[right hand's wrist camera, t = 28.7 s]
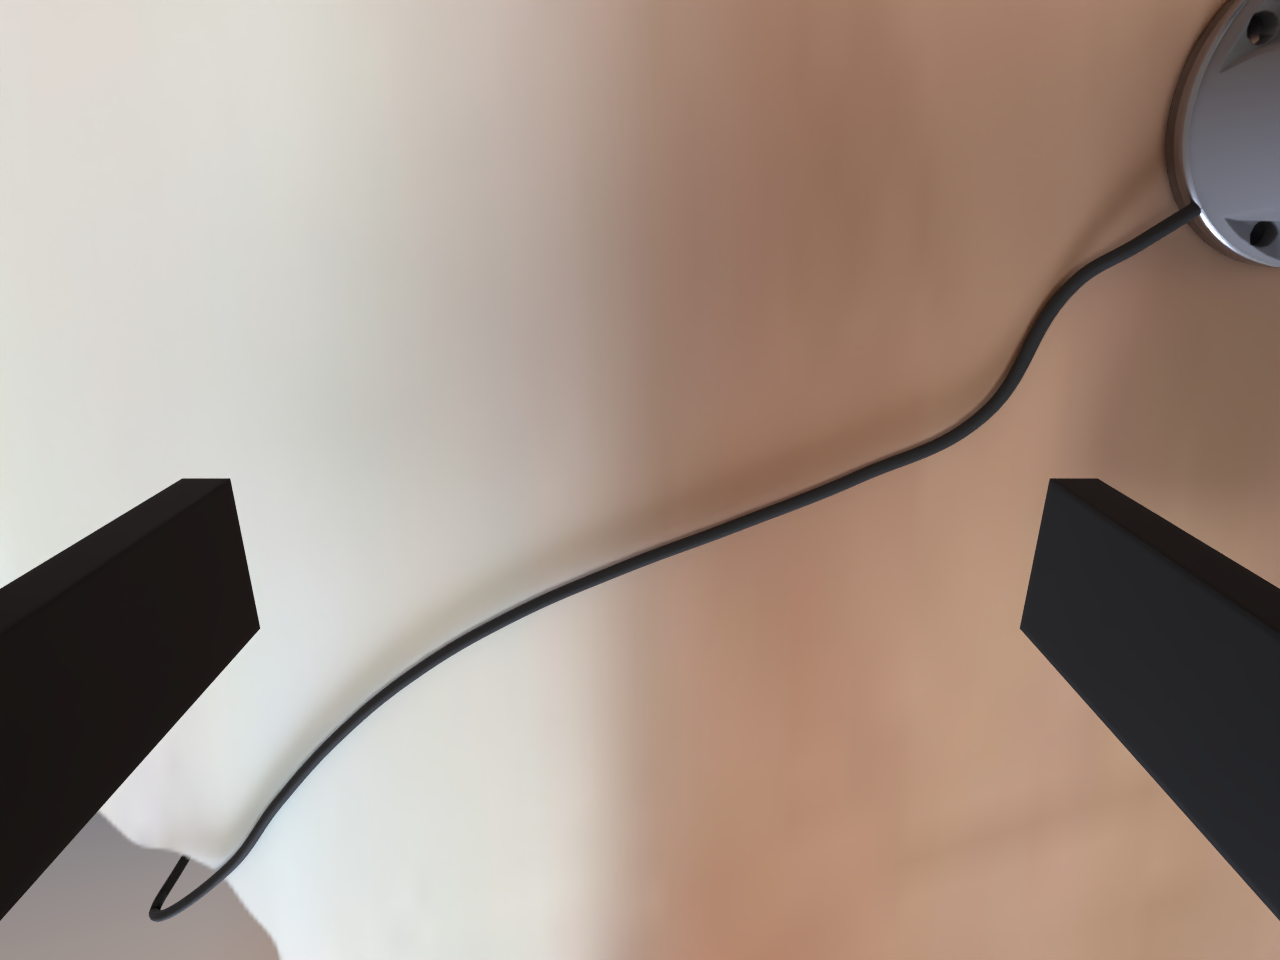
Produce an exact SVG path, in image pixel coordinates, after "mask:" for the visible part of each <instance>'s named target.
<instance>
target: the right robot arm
mask: <svg viewBox="0 0 1280 960" xmlns="http://www.w3.org/2000/svg"><path fill="white" fill-rule="evenodd" d="M1166 162H1167V172H1168V177H1169V182H1170V186H1171V189H1172V192H1173V195H1174V199H1175V201H1176V203H1177V205H1178V207H1179V211H1178V212H1176V213H1174V214H1173V215H1171V216H1170V217H1168V218H1166V219H1165V220H1163V221H1162V222H1160V223H1158V224H1157V225H1155V226H1154V227H1152V228H1150V229H1149V230H1147V231H1146V232H1144V233H1142V234H1141V235H1139V236H1137V237H1136V238H1134V239H1133V240H1131V241H1129V242H1127V243H1126V244H1124V245H1122V246H1120V247H1118V248H1116V249H1114V250H1112V251H1110V252H1108V253H1106V254H1105V255H1103V256H1101V257H1099V258H1097V259H1095V260H1094V261H1092V262H1090V263H1089V264H1087V265H1086V266H1084V267H1083V268H1081V269H1080V270H1079V271H1078V272H1076V273H1075V274H1074V275H1073V276H1072V277H1071V278H1069V280H1068V281H1067V282H1066V283H1065V284H1064V285H1063V286H1062V287H1061V288H1060V289H1059V290H1058V291H1057V292H1056V293H1055V295H1054V296H1053V297H1052V298H1051V300H1050V301H1049V302H1048V303H1047V305H1046V306H1045V308H1044V309H1043V311H1042V312H1041V314H1040V315H1039V317H1038V319H1037V320H1036V322H1035V324H1034V325H1033V327H1032V329H1031V331H1030V333H1029V335H1028V337H1027V339H1026V341H1025V343H1024V345H1023V347H1022V349H1021V351H1020V353H1019V355H1018V357H1017V359H1016V361H1015V363H1014V365H1013V366H1012V368H1011V370H1010V372H1009V374H1008V375H1007V377H1006V379H1005V380H1004V382H1003V383H1002V385H1001V386H1000V388H999V389H998V390H997V392H996V393H995V394H994V395H993V396H992V398H991V399H990V400H989V401H988V402H987V403H986V404H985V405H984V406H983V407H982V408H981V409H980V410H979V411H978V412H976V413H975V414H974V415H973V416H971V417H970V418H969V419H968V420H966V421H965V422H963V423H962V424H961V425H959V426H958V427H956V428H955V429H953V430H951V431H950V432H948V433H946V434H944V435H943V436H941V437H939V438H937V439H935V440H933V441H931V442H928V443H926V444H924V445H921V446H919V447H916V448H914V449H911V450H909V451H906V452H903V453H901V454H898V455H895V456H893V457H890V458H887V459H885V460H882V461H880V462H877V463H875V464H872V465H869V466H867V467H865V468H862V469H860V470H858V471H856V472H853V473H851V474H849V475H846V476H844V477H842V478H839V479H837V480H835V481H832V482H830V483H828V484H825V485H823V486H820V487H818V488H815V489H813V490H810V491H808V492H805V493H803V494H800V495H798V496H795V497H792V498H790V499H787V500H785V501H782V502H779V503H777V504H774V505H771V506H769V507H766V508H764V509H761V510H758V511H756V512H753V513H750V514H748V515H745V516H743V517H740V518H737V519H735V520H732V521H730V522H727V523H724V524H722V525H719V526H716V527H714V528H711V529H708V530H706V531H703V532H700V533H698V534H695V535H692V536H689V537H687V538H684V539H681V540H678V541H676V542H673V543H670V544H667V545H665V546H662V547H659V548H657V549H654V550H651V551H649V552H646V553H643V554H641V555H638V556H636V557H633V558H631V559H628V560H626V561H623V562H621V563H618V564H616V565H613V566H611V567H608V568H606V569H603V570H601V571H598V572H596V573H593V574H591V575H589V576H586V577H584V578H581V579H579V580H576V581H574V582H571V583H569V584H567V585H564V586H562V587H560V588H557V589H555V590H553V591H550V592H548V593H546V594H544V595H542V596H539V597H537V598H535V599H533V600H531V601H529V602H527V603H525V604H523V605H520V606H518V607H516V608H514V609H512V610H510V611H508V612H506V613H505V614H503V615H501V616H499V617H497V618H495V619H493V620H491V621H489V622H487V623H485V624H483V625H481V626H480V627H478V628H476V629H474V630H472V631H470V632H469V633H467V634H465V635H463V636H462V637H460V638H458V639H456V640H455V641H453V642H451V643H450V644H448V645H446V646H445V647H443V648H442V649H440V650H438V651H437V652H435V653H434V654H432V655H431V656H429V657H428V658H426V659H425V660H423V661H422V662H420V663H419V664H417V665H416V666H414V667H413V668H412V669H410V670H409V671H407V672H406V673H404V674H403V675H402V676H400V677H399V678H398V679H396V680H395V681H394V682H392V683H391V684H389V685H388V686H387V687H386V688H384V689H383V690H382V691H380V692H379V693H378V694H377V695H375V696H374V697H373V698H372V699H371V700H369V701H368V702H367V703H366V704H365V705H364V706H362V707H361V708H360V709H359V710H358V711H357V712H356V713H355V714H353V715H352V716H351V717H350V718H349V719H348V720H347V721H346V722H345V723H344V724H343V725H342V726H341V727H339V728H338V729H337V730H336V731H335V732H334V733H333V734H332V735H331V736H330V737H329V738H328V739H327V740H326V741H325V742H324V743H323V744H322V745H321V746H320V747H319V748H318V749H317V750H316V751H315V752H314V753H313V754H312V756H311V757H310V758H309V759H308V760H307V761H306V762H305V763H304V764H303V766H302V767H301V768H300V769H299V770H298V771H297V772H296V774H295V775H294V776H293V777H292V778H291V780H290V781H289V782H288V783H287V784H286V786H285V787H284V788H283V789H282V790H281V792H280V793H279V794H278V795H277V796H276V798H275V799H274V800H273V801H272V803H271V804H270V805H269V807H268V808H267V809H266V811H265V812H264V813H263V815H262V816H261V818H260V819H259V821H258V822H257V824H256V825H255V827H254V828H253V830H252V832H251V833H250V835H249V836H248V838H247V839H246V841H245V842H244V844H243V845H242V846H241V847H240V849H239V850H238V851H237V852H236V854H235V855H234V856H233V857H232V858H231V859H230V860H229V861H228V862H227V863H226V864H225V865H224V866H223V867H222V868H220V869H219V870H218V871H217V872H216V873H215V874H214V875H212V876H211V877H210V878H209V879H208V880H207V881H205V882H204V883H203V884H202V885H200V886H199V887H198V888H197V889H195V890H194V891H193V892H191V893H190V894H189V895H187V896H186V897H184V898H183V899H182V900H180V901H179V902H177V903H175V904H174V905H172V906H170V907H168V908H166V909H164V910H161V907H162V905H163V903H164V901H165V899H166V898H167V896H168V894H169V893H170V891H171V890H172V888H173V886H174V885H175V883H176V882H177V880H178V879H179V877H180V875H181V874H182V872H183V870H184V869H185V867H186V865H187V864H188V862H189V860H190V859H191V858H190V857H188V856H186V855H183V854H182V856H181V858H180V859H179V861H178V863H177V864H176V866H175V867H174V869H173V871H172V872H171V874H170V875H169V877H168V878H167V880H166V882H165V883H164V885H163V886H162V888H161V889H160V891H159V892H158V894H157V896H156V897H155V899H154V901H153V903H152V905H151V908H150V911H149V917H150V919H151V920H153V921H156V922H160V921H163V920H166V919H169V918H171V917H173V916H175V915H177V914H178V913H180V912H182V911H183V910H185V909H186V908H188V907H189V906H191V905H192V904H193V903H195V902H196V901H198V900H199V899H200V898H201V897H203V896H204V895H205V894H207V893H208V892H209V891H210V890H211V889H213V888H214V887H215V886H216V885H217V884H219V883H220V882H221V881H222V880H223V879H224V878H226V877H227V876H228V875H229V874H230V873H231V872H232V871H233V870H234V869H235V868H236V867H237V866H238V865H239V864H240V863H241V862H242V861H243V860H244V859H245V857H246V856H247V855H248V854H249V852H250V851H251V849H252V848H253V847H254V845H255V844H256V842H257V841H258V839H259V838H260V836H261V835H262V833H263V832H264V830H265V828H266V827H267V825H268V824H269V823H270V821H271V820H272V818H273V817H274V816H275V814H276V813H277V812H278V810H279V809H280V808H281V807H282V805H283V804H284V803H285V802H286V801H287V799H288V798H289V797H290V796H291V795H292V793H293V792H294V791H295V790H296V789H297V788H298V786H299V785H300V784H301V783H302V782H303V780H304V779H305V778H306V777H307V776H308V775H309V774H310V772H311V771H312V770H313V769H314V768H315V767H316V766H317V765H318V764H319V763H320V762H321V761H322V759H323V758H324V757H325V756H326V755H327V754H328V753H329V752H330V751H331V750H332V749H333V748H334V747H335V746H336V745H337V744H338V743H340V742H341V741H342V740H343V739H344V738H345V737H346V736H347V735H348V734H349V733H350V732H351V731H352V730H353V729H354V728H356V727H357V726H358V725H359V724H360V723H361V722H362V721H363V720H364V719H366V718H367V717H368V716H369V715H370V714H371V713H372V712H374V711H375V710H376V709H377V708H378V707H380V706H381V705H382V704H383V703H385V702H386V701H387V700H388V699H390V698H391V697H392V696H394V695H395V694H396V693H398V692H399V691H400V690H402V689H403V688H404V687H406V686H407V685H409V684H410V683H411V682H413V681H414V680H416V679H417V678H419V677H420V676H421V675H423V674H424V673H426V672H427V671H429V670H430V669H432V668H433V667H435V666H436V665H438V664H439V663H441V662H442V661H444V660H446V659H447V658H449V657H450V656H452V655H454V654H455V653H457V652H459V651H460V650H462V649H464V648H466V647H467V646H469V645H471V644H473V643H475V642H476V641H478V640H480V639H482V638H484V637H486V636H487V635H489V634H491V633H493V632H495V631H497V630H499V629H501V628H503V627H505V626H507V625H509V624H511V623H513V622H515V621H517V620H519V619H521V618H523V617H525V616H527V615H529V614H531V613H533V612H535V611H537V610H539V609H542V608H544V607H546V606H548V605H550V604H553V603H555V602H557V601H559V600H562V599H564V598H566V597H569V596H571V595H574V594H576V593H578V592H581V591H583V590H586V589H588V588H591V587H593V586H596V585H598V584H601V583H603V582H606V581H608V580H611V579H613V578H615V577H618V576H620V575H623V574H625V573H628V572H630V571H633V570H635V569H638V568H641V567H643V566H646V565H648V564H651V563H654V562H656V561H659V560H662V559H664V558H667V557H670V556H673V555H675V554H678V553H681V552H684V551H686V550H689V549H692V548H695V547H697V546H700V545H703V544H706V543H708V542H711V541H714V540H717V539H719V538H722V537H725V536H727V535H730V534H732V533H735V532H738V531H740V530H743V529H746V528H748V527H751V526H753V525H756V524H759V523H761V522H764V521H767V520H769V519H772V518H775V517H777V516H780V515H783V514H785V513H788V512H791V511H793V510H796V509H798V508H801V507H804V506H806V505H809V504H811V503H814V502H816V501H819V500H821V499H824V498H826V497H829V496H831V495H834V494H836V493H839V492H841V491H843V490H846V489H848V488H850V487H853V486H855V485H857V484H859V483H862V482H864V481H866V480H869V479H871V478H873V477H876V476H878V475H881V474H884V473H886V472H889V471H891V470H894V469H897V468H899V467H902V466H905V465H908V464H910V463H913V462H916V461H918V460H921V459H923V458H926V457H928V456H930V455H933V454H935V453H937V452H939V451H941V450H943V449H946V448H947V447H949V446H951V445H953V444H955V443H957V442H958V441H960V440H961V439H963V438H965V437H966V436H968V435H969V434H970V433H972V432H973V431H975V430H976V429H977V428H979V427H980V426H981V425H982V424H984V423H985V422H986V421H987V420H988V419H989V418H990V417H992V416H993V415H994V414H995V413H996V412H997V411H998V410H999V409H1000V408H1001V406H1002V405H1003V404H1004V403H1005V402H1006V401H1007V400H1008V398H1009V397H1010V395H1011V394H1012V393H1013V391H1014V390H1015V388H1016V387H1017V385H1018V384H1019V382H1020V380H1021V379H1022V377H1023V375H1024V373H1025V372H1026V370H1027V368H1028V366H1029V364H1030V362H1031V360H1032V358H1033V356H1034V354H1035V352H1036V350H1037V348H1038V346H1039V344H1040V342H1041V340H1042V338H1043V337H1044V335H1045V333H1046V331H1047V329H1048V328H1049V326H1050V324H1051V323H1052V321H1053V319H1054V318H1055V316H1056V315H1057V314H1058V312H1059V311H1060V309H1061V308H1062V307H1063V306H1064V304H1065V303H1066V302H1067V301H1068V300H1069V298H1070V297H1071V296H1072V295H1073V294H1074V293H1075V292H1076V291H1077V290H1078V289H1079V288H1080V287H1081V286H1082V285H1084V284H1085V283H1086V282H1087V281H1089V280H1090V279H1091V278H1093V277H1094V276H1096V275H1097V274H1099V273H1101V272H1102V271H1104V270H1106V269H1108V268H1110V267H1112V266H1114V265H1116V264H1118V263H1120V262H1122V261H1124V260H1126V259H1127V258H1129V257H1131V256H1133V255H1135V254H1137V253H1138V252H1140V251H1142V250H1143V249H1145V248H1147V247H1148V246H1150V245H1152V244H1153V243H1155V242H1156V241H1158V240H1160V239H1161V238H1163V237H1165V236H1166V235H1168V234H1169V233H1171V232H1173V231H1174V230H1176V229H1178V228H1179V227H1181V226H1182V225H1184V224H1186V223H1188V224H1189V226H1190V227H1191V228H1192V229H1193V231H1194V232H1195V233H1196V234H1197V235H1198V236H1199V237H1200V238H1201V239H1202V240H1203V241H1204V242H1206V243H1207V244H1208V245H1209V246H1211V247H1212V248H1213V249H1215V250H1217V251H1218V252H1220V253H1222V254H1224V255H1225V256H1228V257H1230V258H1232V259H1235V260H1237V261H1241V262H1244V263H1248V264H1252V265H1258V266H1265V267H1274V268H1280V0H1229V1H1228V2H1227V3H1226V4H1225V5H1224V6H1223V8H1222V9H1221V10H1220V11H1219V12H1218V14H1217V15H1216V16H1215V17H1214V19H1213V20H1212V21H1211V23H1210V24H1209V25H1208V27H1207V28H1206V30H1205V31H1204V33H1203V34H1202V36H1201V38H1200V39H1199V41H1198V42H1197V44H1196V46H1195V48H1194V49H1193V51H1192V53H1191V55H1190V57H1189V59H1188V61H1187V63H1186V65H1185V67H1184V70H1183V72H1182V74H1181V76H1180V79H1179V82H1178V85H1177V88H1176V90H1175V93H1174V97H1173V101H1172V105H1171V108H1170V113H1169V119H1168V125H1167V135H1166ZM259 629H260V625H259V620H258V615H257V610H256V605H255V600H254V595H253V590H252V585H251V580H250V575H249V570H248V565H247V560H246V555H245V550H244V545H243V540H242V535H241V530H240V525H239V520H238V515H237V510H236V505H235V500H234V495H233V490H232V485H231V480H230V479H181V480H179V481H178V482H176V483H174V484H173V485H171V486H169V487H168V488H166V489H164V490H163V491H161V492H159V493H158V494H156V495H154V496H153V497H151V498H149V499H148V500H146V501H145V502H143V503H141V504H140V505H138V506H136V507H135V508H133V509H131V510H130V511H128V512H126V513H125V514H123V515H121V516H120V517H118V518H116V519H115V520H113V521H112V522H110V523H108V524H107V525H105V526H103V527H102V528H100V529H98V530H97V531H95V532H93V533H92V534H90V535H88V536H87V537H85V538H83V539H82V540H80V541H78V542H77V543H75V544H74V545H72V546H70V547H69V548H67V549H65V550H64V551H62V552H60V553H59V554H57V555H55V556H54V557H52V558H50V559H49V560H47V561H45V562H44V563H42V564H41V565H39V566H37V567H36V568H34V569H32V570H31V571H29V572H27V573H26V574H24V575H22V576H21V577H19V578H17V579H16V580H14V581H12V582H11V583H9V584H8V585H6V586H4V587H3V588H1V589H0V920H1V919H2V918H3V917H4V916H5V915H6V914H7V912H8V911H9V910H10V909H11V908H12V907H13V906H14V905H15V903H16V902H17V901H18V900H19V899H20V898H21V897H22V896H23V894H24V893H25V892H26V891H27V890H28V889H29V888H30V887H31V886H32V884H33V883H34V882H35V881H36V880H37V879H38V878H39V876H40V875H41V874H42V873H43V872H44V871H45V870H46V869H47V868H48V866H49V865H50V864H51V863H52V862H53V861H54V860H55V859H56V857H57V856H58V855H59V854H60V853H61V852H62V851H63V850H64V848H65V847H66V846H67V845H68V844H69V843H70V842H71V840H72V839H73V838H74V837H75V836H76V835H77V834H78V833H79V831H80V830H81V829H82V828H83V827H84V826H85V825H86V824H87V823H88V821H89V820H90V819H91V818H92V817H93V816H94V815H95V814H96V812H97V811H98V810H99V809H100V808H101V807H102V806H103V805H104V803H105V802H106V801H107V800H108V799H109V798H110V797H111V796H112V794H113V793H114V792H115V791H116V790H117V789H118V788H119V787H120V785H121V784H122V783H123V782H124V781H125V780H126V779H127V778H128V776H129V775H130V774H131V773H132V772H133V771H134V770H135V769H136V767H137V766H138V765H139V764H140V763H141V762H142V761H143V760H144V758H145V757H146V756H147V755H148V754H149V753H150V752H151V751H152V749H153V748H154V747H155V746H156V745H157V744H158V743H159V742H160V740H161V739H162V738H163V737H164V736H165V735H166V734H167V733H168V731H169V730H170V729H171V728H172V727H173V726H174V725H175V724H176V722H177V721H178V720H179V719H180V718H181V717H182V716H183V715H184V713H185V712H186V711H187V710H188V709H189V708H190V707H191V706H192V704H193V703H194V702H195V701H196V700H197V699H198V698H199V697H200V695H201V694H202V693H203V692H204V691H205V690H206V689H207V688H208V686H209V685H210V684H211V683H212V682H213V681H214V680H215V679H216V677H217V676H218V675H219V674H220V673H221V672H222V671H223V670H224V668H225V667H226V666H227V665H228V664H229V663H230V662H231V661H232V659H233V658H234V657H235V656H236V655H237V654H238V653H239V652H240V650H241V649H242V648H243V647H244V646H245V645H246V644H247V643H248V641H249V640H250V639H251V638H252V637H253V636H254V635H255V634H256V632H257V631H258V630H259ZM1020 629H1021V630H1022V631H1023V632H1024V634H1025V635H1026V636H1027V637H1028V638H1029V639H1030V640H1031V641H1032V643H1033V644H1034V645H1035V646H1036V647H1037V648H1038V649H1039V650H1040V652H1041V653H1042V654H1043V655H1044V656H1045V657H1046V658H1047V659H1048V661H1049V662H1050V663H1051V664H1052V665H1053V666H1054V667H1055V668H1056V670H1057V671H1058V672H1059V673H1060V674H1061V675H1062V676H1063V677H1064V679H1065V680H1066V681H1067V682H1068V683H1069V684H1070V685H1071V686H1072V688H1073V689H1074V690H1075V691H1076V692H1077V693H1078V694H1079V695H1080V697H1081V698H1082V699H1083V700H1084V701H1085V702H1086V703H1087V704H1088V706H1089V707H1090V708H1091V709H1092V710H1093V711H1094V712H1095V713H1096V715H1097V716H1098V717H1099V718H1100V719H1101V720H1102V721H1103V722H1104V724H1105V725H1106V726H1107V727H1108V728H1109V729H1110V730H1111V731H1112V733H1113V734H1114V735H1115V736H1116V737H1117V738H1118V739H1119V740H1120V742H1121V743H1122V744H1123V745H1124V746H1125V747H1126V748H1127V749H1128V751H1129V752H1130V753H1131V754H1132V755H1133V756H1134V757H1135V758H1136V760H1137V761H1138V762H1139V763H1140V764H1141V765H1142V766H1143V767H1144V769H1145V770H1146V771H1147V772H1148V773H1149V774H1150V775H1151V776H1152V778H1153V779H1154V780H1155V781H1156V782H1157V783H1158V784H1159V785H1160V787H1161V788H1162V789H1163V790H1164V791H1165V792H1166V793H1167V794H1168V796H1169V797H1170V798H1171V799H1172V800H1173V801H1174V802H1175V803H1176V805H1177V806H1178V807H1179V808H1180V809H1181V810H1182V811H1183V812H1184V814H1185V815H1186V816H1187V817H1188V818H1189V819H1190V820H1191V821H1192V823H1193V824H1194V825H1195V826H1196V827H1197V828H1198V829H1199V830H1200V832H1201V833H1202V834H1203V835H1204V836H1205V837H1206V838H1207V839H1208V841H1209V842H1210V843H1211V844H1212V845H1213V846H1214V847H1215V848H1216V850H1217V851H1218V852H1219V853H1220V854H1221V855H1222V856H1223V857H1224V859H1225V860H1226V861H1227V862H1228V863H1229V864H1230V865H1231V866H1232V868H1233V869H1234V870H1235V871H1236V872H1237V873H1238V874H1239V875H1240V877H1241V878H1242V879H1243V880H1244V881H1245V882H1246V883H1247V884H1248V886H1249V887H1250V888H1251V889H1252V890H1253V891H1254V892H1255V893H1256V895H1257V896H1258V897H1259V898H1260V899H1261V900H1262V901H1263V902H1264V904H1265V905H1266V906H1267V907H1268V908H1269V909H1270V910H1271V911H1272V913H1273V914H1274V915H1275V916H1276V917H1277V918H1278V919H1279V920H1280V589H1279V588H1277V587H1276V586H1274V585H1272V584H1271V583H1269V582H1268V581H1266V580H1264V579H1263V578H1261V577H1259V576H1258V575H1256V574H1254V573H1253V572H1251V571H1249V570H1248V569H1246V568H1244V567H1243V566H1241V565H1239V564H1238V563H1236V562H1235V561H1233V560H1231V559H1230V558H1228V557H1226V556H1225V555H1223V554H1221V553H1220V552H1218V551H1216V550H1215V549H1213V548H1211V547H1210V546H1208V545H1206V544H1205V543H1203V542H1202V541H1200V540H1198V539H1197V538H1195V537H1193V536H1192V535H1190V534H1188V533H1187V532H1185V531H1183V530H1182V529H1180V528H1178V527H1177V526H1175V525H1173V524H1172V523H1170V522H1168V521H1167V520H1165V519H1164V518H1162V517H1160V516H1159V515H1157V514H1155V513H1154V512H1152V511H1150V510H1149V509H1147V508H1145V507H1144V506H1142V505H1140V504H1139V503H1137V502H1135V501H1134V500H1132V499H1131V498H1129V497H1127V496H1126V495H1124V494H1122V493H1121V492H1119V491H1117V490H1116V489H1114V488H1112V487H1111V486H1109V485H1107V484H1106V483H1104V482H1102V481H1101V480H1099V479H1050V480H1049V485H1048V490H1047V495H1046V500H1045V505H1044V510H1043V515H1042V520H1041V525H1040V530H1039V535H1038V540H1037V545H1036V550H1035V555H1034V560H1033V565H1032V570H1031V575H1030V580H1029V585H1028V590H1027V595H1026V600H1025V605H1024V610H1023V615H1022V620H1021V625H1020Z"/></svg>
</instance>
